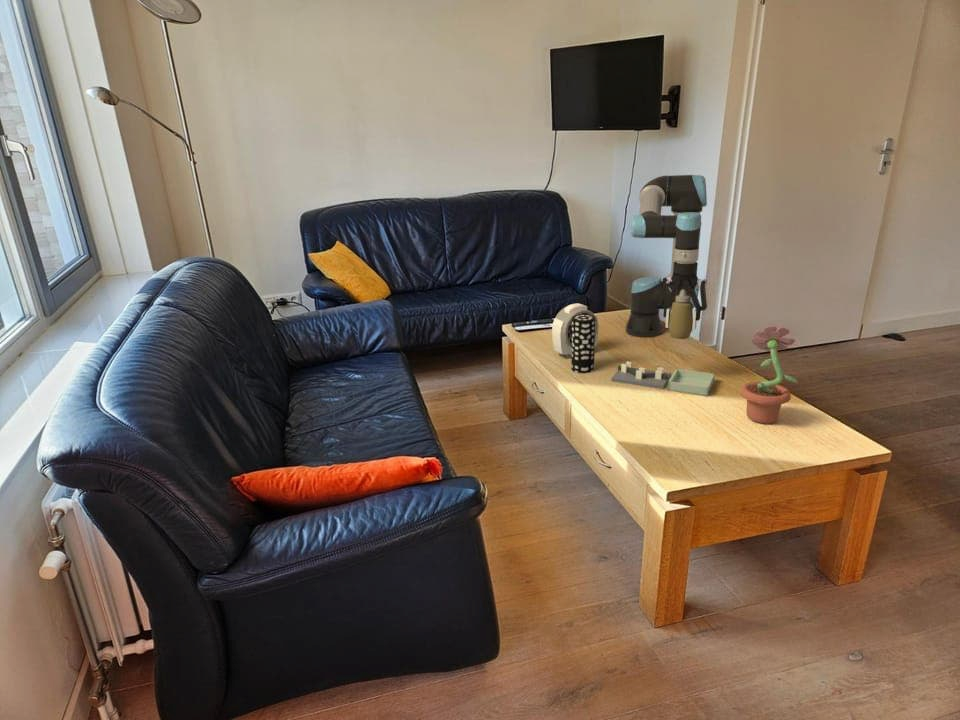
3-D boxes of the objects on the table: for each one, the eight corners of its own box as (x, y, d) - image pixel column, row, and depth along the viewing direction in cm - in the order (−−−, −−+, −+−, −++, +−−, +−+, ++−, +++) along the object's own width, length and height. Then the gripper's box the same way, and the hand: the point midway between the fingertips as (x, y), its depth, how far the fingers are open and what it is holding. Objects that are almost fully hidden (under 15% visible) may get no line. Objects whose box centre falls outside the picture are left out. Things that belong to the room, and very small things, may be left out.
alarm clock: (562, 361, 240) (562, 311, 233) (550, 355, 247) (549, 305, 240) (600, 352, 248) (601, 303, 240) (587, 346, 255) (588, 298, 247)
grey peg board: (620, 369, 231) (621, 359, 229) (670, 376, 222) (671, 365, 221) (611, 381, 221) (611, 370, 219) (663, 389, 213) (664, 378, 211)
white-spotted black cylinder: (598, 368, 232) (599, 316, 225) (585, 375, 227) (586, 322, 220) (579, 363, 238) (580, 312, 231) (566, 369, 232) (567, 318, 225)
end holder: (675, 376, 222) (676, 368, 221) (713, 381, 216) (714, 373, 215) (667, 390, 212) (667, 382, 211) (707, 396, 206) (708, 387, 205)
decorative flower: (790, 412, 192) (805, 319, 182) (791, 432, 181) (806, 334, 170) (738, 405, 198) (749, 315, 187) (735, 424, 187) (746, 329, 176)
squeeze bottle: (689, 333, 216) (694, 282, 210) (694, 340, 209) (698, 288, 203) (665, 333, 218) (669, 282, 211) (669, 340, 210) (673, 288, 204)
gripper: (650, 261, 206) (646, 327, 214) (717, 265, 196) (710, 334, 204) (656, 257, 212) (652, 321, 220) (721, 261, 202) (715, 328, 210)
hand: (680, 327), depth 212 cm, fingers closed on squeeze bottle, 8 cm apart
